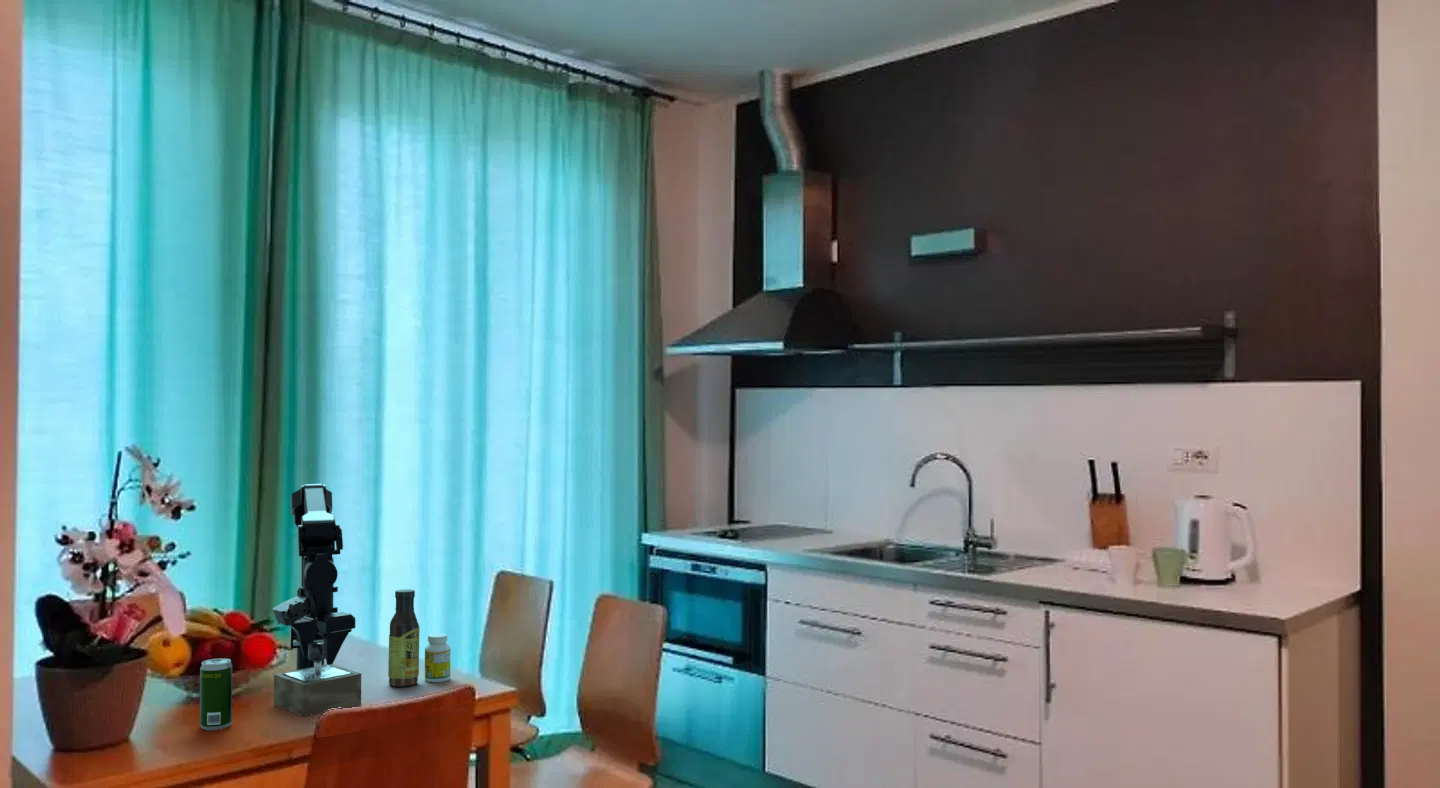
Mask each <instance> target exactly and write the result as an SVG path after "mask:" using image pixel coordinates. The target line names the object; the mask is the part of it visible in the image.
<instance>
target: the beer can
mask: <svg viewBox="0 0 1440 788" xmlns="http://www.w3.org/2000/svg"><path fill="white" fill-rule="evenodd" d="M199 671H200V672H199V673H200V674H199V677H200V678H199V688H200V689H199V725H200V727H201V729H202V730H203V729H204V731H219V730H218V729H220V730H223V729H222V728H224V729H226V728H225V727H227V728H229V727H230V726H231V724H232V721H233V664H232V660H231V659H230V658H212V659H207V660H203V661H202V662H201V666H200V668H199ZM229 725H230V726H229ZM228 726H229V727H228Z"/></svg>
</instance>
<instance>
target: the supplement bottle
mask: <svg viewBox="0 0 1440 788" xmlns="http://www.w3.org/2000/svg"><path fill="white" fill-rule="evenodd" d="M447 641H448V634H446V633H431V634H428V636H427V642H428V644H427V645H426V646H425V647H424V680H425V681H426V682H429V683H444V682H447V681H449V680H450V678H451V646H450V644H449V643H447Z"/></svg>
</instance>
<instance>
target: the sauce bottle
mask: <svg viewBox="0 0 1440 788" xmlns="http://www.w3.org/2000/svg"><path fill="white" fill-rule="evenodd" d="M415 597H416V591H415V589H409V588H408V589H407V588H406V589H397V590H395V591H394V598H395V608H394V609H395V613H394V615H393V616H392V618H391V620H390V622H389V635H388V665H387V667H388V672H387V673H388V674H387V675H388V684H389V685H390V686H391V687H395V688H396V687H397V688H398V687H399V688H403V687H410V686H414V685H416V684H417V683H418V680H419V676H420V675H419V673H420V625H419V622H418V618H417V616H416V613H415V606H414V605H415V604H414V603H415V600H414V599H415Z"/></svg>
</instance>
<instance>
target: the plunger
mask: <svg viewBox="0 0 1440 788" xmlns="http://www.w3.org/2000/svg"><path fill="white" fill-rule="evenodd" d="M308 660H313V661H314V668H313V669H307V670H302V671H297V672H292V673H287V674H284V675H285V676H287V677H290V678H293V679H296V680H299V681H302V682H304V683H310V682H315V681H320V680H325V679H330V678H335V677H340V676H345V675H350V674H351V673H349V672H346V671H343V670H340V669H337V668H334V667H331V666H323V667H322V660H324V661H325V660H326V657H325V648H324V641H316V642H311V643H309V644H308Z"/></svg>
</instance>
